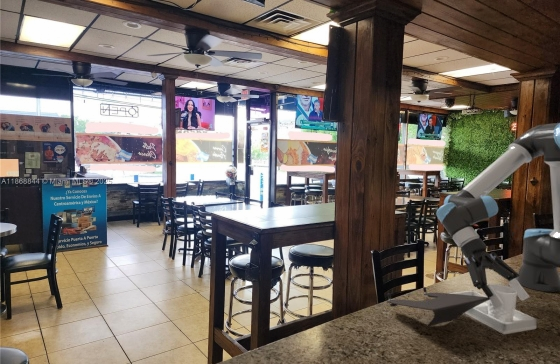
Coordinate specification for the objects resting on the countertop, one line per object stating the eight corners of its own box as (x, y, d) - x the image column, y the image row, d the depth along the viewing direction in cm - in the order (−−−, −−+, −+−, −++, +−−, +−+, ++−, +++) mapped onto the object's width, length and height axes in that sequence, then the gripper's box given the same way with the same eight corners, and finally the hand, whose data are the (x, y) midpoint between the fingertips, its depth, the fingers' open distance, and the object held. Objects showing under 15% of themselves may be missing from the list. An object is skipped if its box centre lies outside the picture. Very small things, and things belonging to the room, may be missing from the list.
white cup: (519, 326, 110) (521, 294, 109) (491, 324, 111) (493, 292, 110) (508, 315, 117) (510, 285, 117) (482, 313, 119) (483, 283, 118)
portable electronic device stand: (435, 312, 129) (431, 285, 131) (494, 322, 109) (488, 290, 110) (383, 323, 120) (379, 294, 122) (437, 336, 100) (431, 302, 101)
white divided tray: (472, 298, 134) (472, 290, 134) (536, 328, 111) (536, 319, 110) (444, 301, 130) (444, 293, 130) (503, 334, 107) (504, 324, 107)
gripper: (484, 245, 132) (527, 301, 120) (438, 253, 121) (479, 315, 109) (500, 234, 127) (545, 290, 115) (452, 240, 116) (497, 304, 104)
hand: (513, 302), depth 112 cm, fingers open, 12 cm apart
